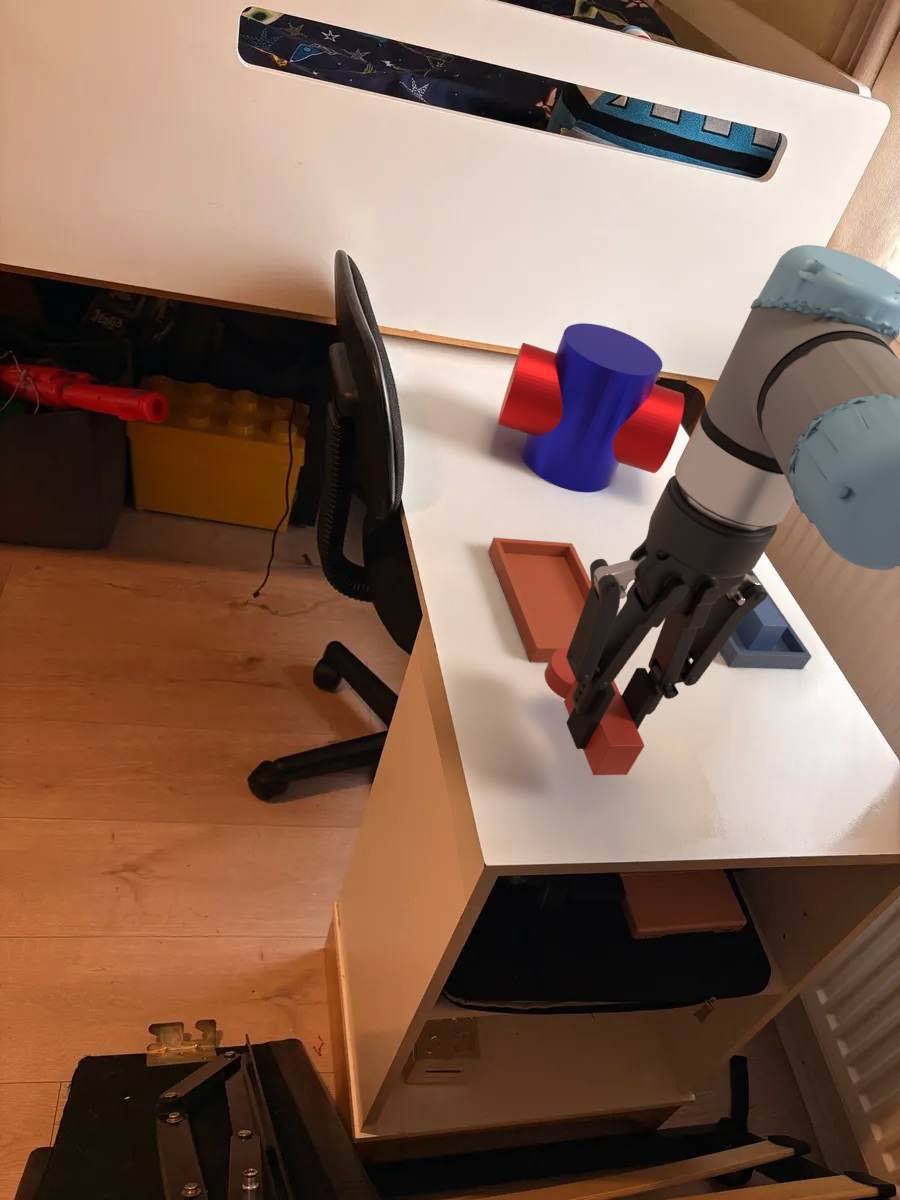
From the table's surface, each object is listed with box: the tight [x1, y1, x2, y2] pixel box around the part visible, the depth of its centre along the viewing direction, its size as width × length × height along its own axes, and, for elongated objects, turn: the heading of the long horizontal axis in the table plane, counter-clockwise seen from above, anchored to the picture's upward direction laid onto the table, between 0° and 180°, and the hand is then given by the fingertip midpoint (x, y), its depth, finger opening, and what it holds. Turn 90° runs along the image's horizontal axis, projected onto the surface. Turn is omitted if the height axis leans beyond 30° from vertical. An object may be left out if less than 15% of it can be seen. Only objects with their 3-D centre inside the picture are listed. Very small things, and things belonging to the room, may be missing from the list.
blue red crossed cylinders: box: [496, 322, 685, 493], centre depth 108 cm, size 20×12×16 cm, turn 81°
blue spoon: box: [736, 597, 787, 650], centre depth 97 cm, size 12×5×4 cm, turn 12°
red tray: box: [488, 537, 591, 663], centre depth 90 cm, size 16×9×2 cm, turn 12°
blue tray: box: [719, 569, 813, 670], centre depth 97 cm, size 16×9×2 cm, turn 12°
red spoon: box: [544, 647, 646, 776], centre depth 73 cm, size 12×5×4 cm, turn 12°
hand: (596, 735), depth 72 cm, fingers closed on red spoon, 3 cm apart
